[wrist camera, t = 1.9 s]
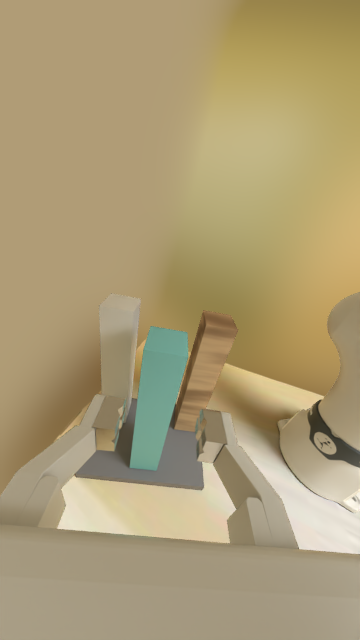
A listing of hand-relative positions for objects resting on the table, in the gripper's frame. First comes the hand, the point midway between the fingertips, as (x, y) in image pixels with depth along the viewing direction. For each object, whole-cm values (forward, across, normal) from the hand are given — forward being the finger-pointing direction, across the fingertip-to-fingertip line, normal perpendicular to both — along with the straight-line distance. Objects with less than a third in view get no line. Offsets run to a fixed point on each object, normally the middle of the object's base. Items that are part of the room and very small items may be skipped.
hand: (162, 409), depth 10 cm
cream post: (+20, +8, +32) cm, 39 cm away
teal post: (+12, 0, +32) cm, 34 cm away
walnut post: (+20, -8, +32) cm, 39 cm away
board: (+16, 0, +34) cm, 38 cm away
